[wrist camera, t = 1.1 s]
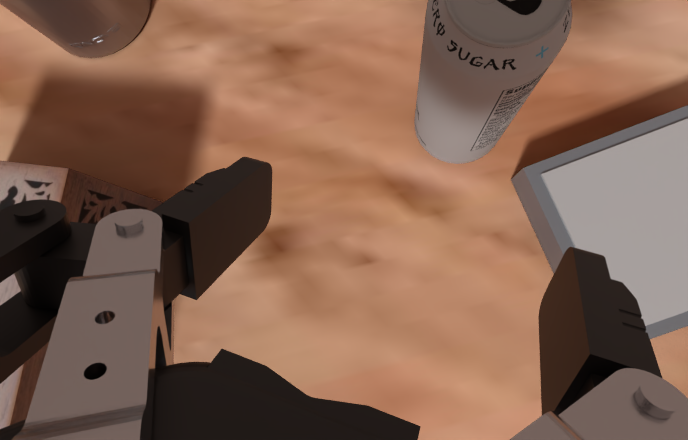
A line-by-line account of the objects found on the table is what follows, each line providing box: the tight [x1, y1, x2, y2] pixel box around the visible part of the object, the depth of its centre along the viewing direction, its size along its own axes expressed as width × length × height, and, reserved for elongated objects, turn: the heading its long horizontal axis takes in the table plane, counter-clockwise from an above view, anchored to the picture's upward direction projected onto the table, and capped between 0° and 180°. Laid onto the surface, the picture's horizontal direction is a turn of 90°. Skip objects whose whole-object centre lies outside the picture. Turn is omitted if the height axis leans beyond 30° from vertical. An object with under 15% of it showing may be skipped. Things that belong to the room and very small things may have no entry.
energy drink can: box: [415, 0, 572, 164], centre depth 24 cm, size 6×6×15 cm
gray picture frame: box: [511, 105, 688, 339], centre depth 28 cm, size 12×12×3 cm
